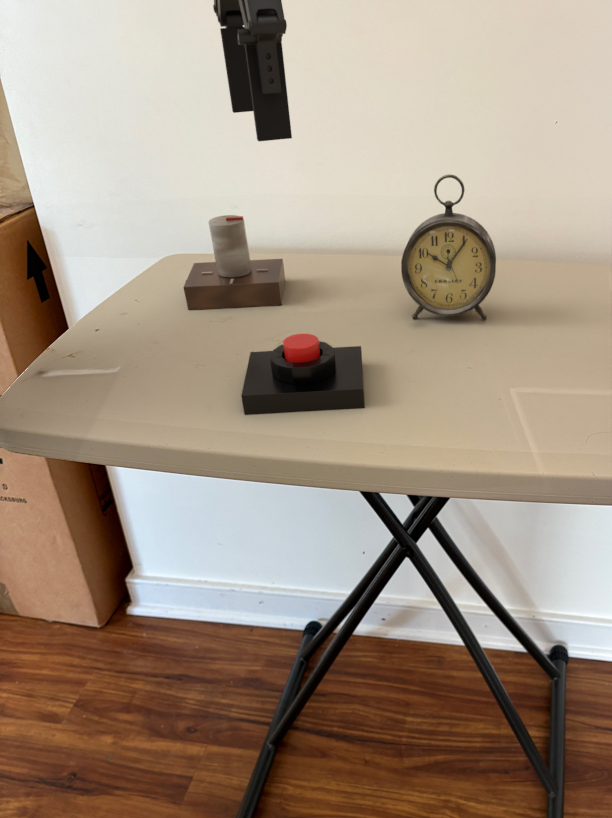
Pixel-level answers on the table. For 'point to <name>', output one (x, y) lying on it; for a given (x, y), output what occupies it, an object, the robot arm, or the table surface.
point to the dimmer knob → (230, 246)
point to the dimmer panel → (235, 286)
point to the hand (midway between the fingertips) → (260, 124)
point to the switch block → (304, 381)
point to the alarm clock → (449, 262)
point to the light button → (301, 348)
